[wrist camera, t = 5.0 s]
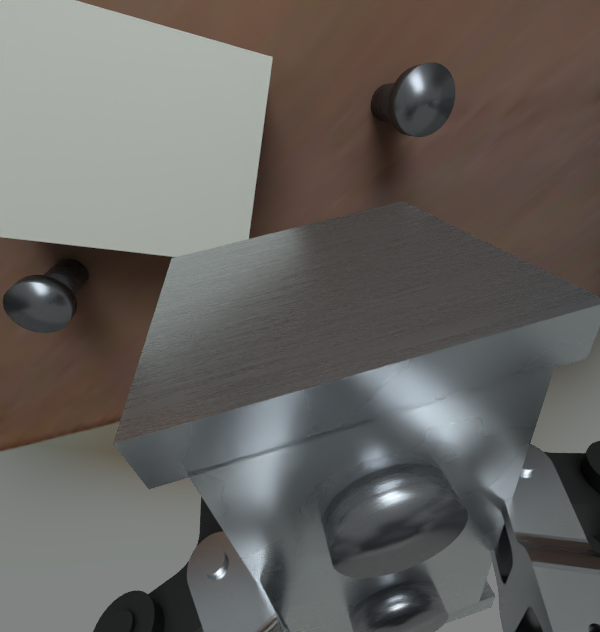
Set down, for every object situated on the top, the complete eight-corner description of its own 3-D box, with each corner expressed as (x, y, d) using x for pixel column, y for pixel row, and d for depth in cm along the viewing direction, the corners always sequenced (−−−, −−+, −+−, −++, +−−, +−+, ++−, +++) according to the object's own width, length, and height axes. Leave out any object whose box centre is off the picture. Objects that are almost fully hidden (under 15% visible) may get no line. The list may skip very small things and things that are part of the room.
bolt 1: (95, 253, 23) (66, 285, 18) (100, 295, 24) (74, 334, 20) (40, 247, 22) (-4, 279, 18) (48, 291, 23) (9, 330, 19)
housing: (403, 200, 10) (658, 326, 4) (405, 450, 16) (504, 631, 10) (171, 258, 9) (97, 492, 3) (270, 492, 15) (300, 705, 10)
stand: (261, 68, 19) (272, 57, 15) (240, 237, 24) (245, 265, 20) (-16, -8, 16) (-101, -51, 11) (25, 208, 20) (-25, 234, 16)
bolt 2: (416, 79, 21) (465, 72, 17) (399, 136, 23) (440, 142, 18) (370, 65, 20) (409, 54, 16) (355, 125, 22) (387, 129, 18)
